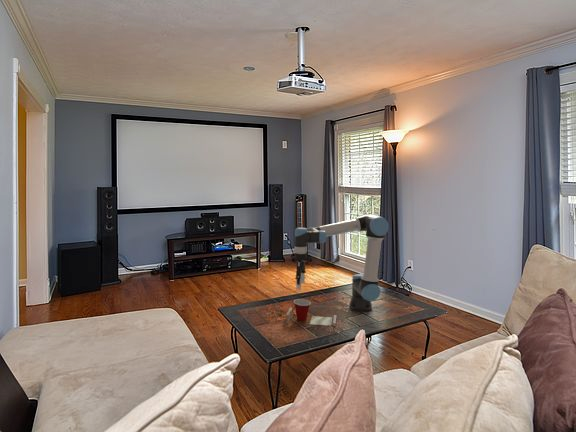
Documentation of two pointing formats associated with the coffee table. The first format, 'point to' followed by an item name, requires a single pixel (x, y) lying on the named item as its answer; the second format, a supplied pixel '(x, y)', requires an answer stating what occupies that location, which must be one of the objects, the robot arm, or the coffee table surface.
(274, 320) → the coffee table surface
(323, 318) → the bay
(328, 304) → the coffee table surface
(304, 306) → the plastic cup
